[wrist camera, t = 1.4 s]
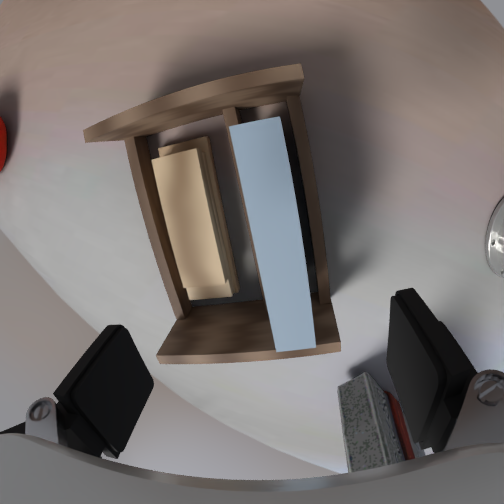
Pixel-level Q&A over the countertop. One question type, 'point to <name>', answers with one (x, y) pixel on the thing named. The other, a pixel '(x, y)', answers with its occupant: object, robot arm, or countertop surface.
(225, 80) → the walnut rack
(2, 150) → the tomato
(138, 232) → the countertop surface
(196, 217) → the offcut stack
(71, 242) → the countertop surface
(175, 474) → the robot arm
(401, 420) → the decorative stone tablet
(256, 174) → the painted sheet
